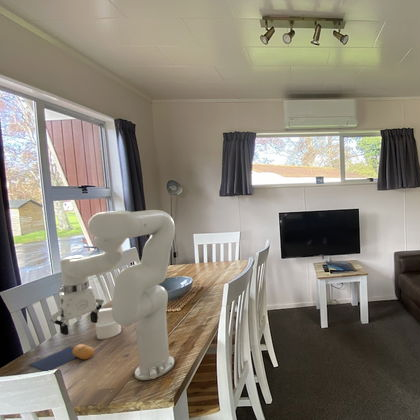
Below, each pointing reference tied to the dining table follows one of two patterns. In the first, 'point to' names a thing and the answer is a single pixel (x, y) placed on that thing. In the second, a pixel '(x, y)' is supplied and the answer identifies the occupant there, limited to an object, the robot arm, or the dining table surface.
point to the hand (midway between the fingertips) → (80, 328)
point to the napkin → (55, 360)
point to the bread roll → (83, 351)
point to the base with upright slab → (106, 324)
